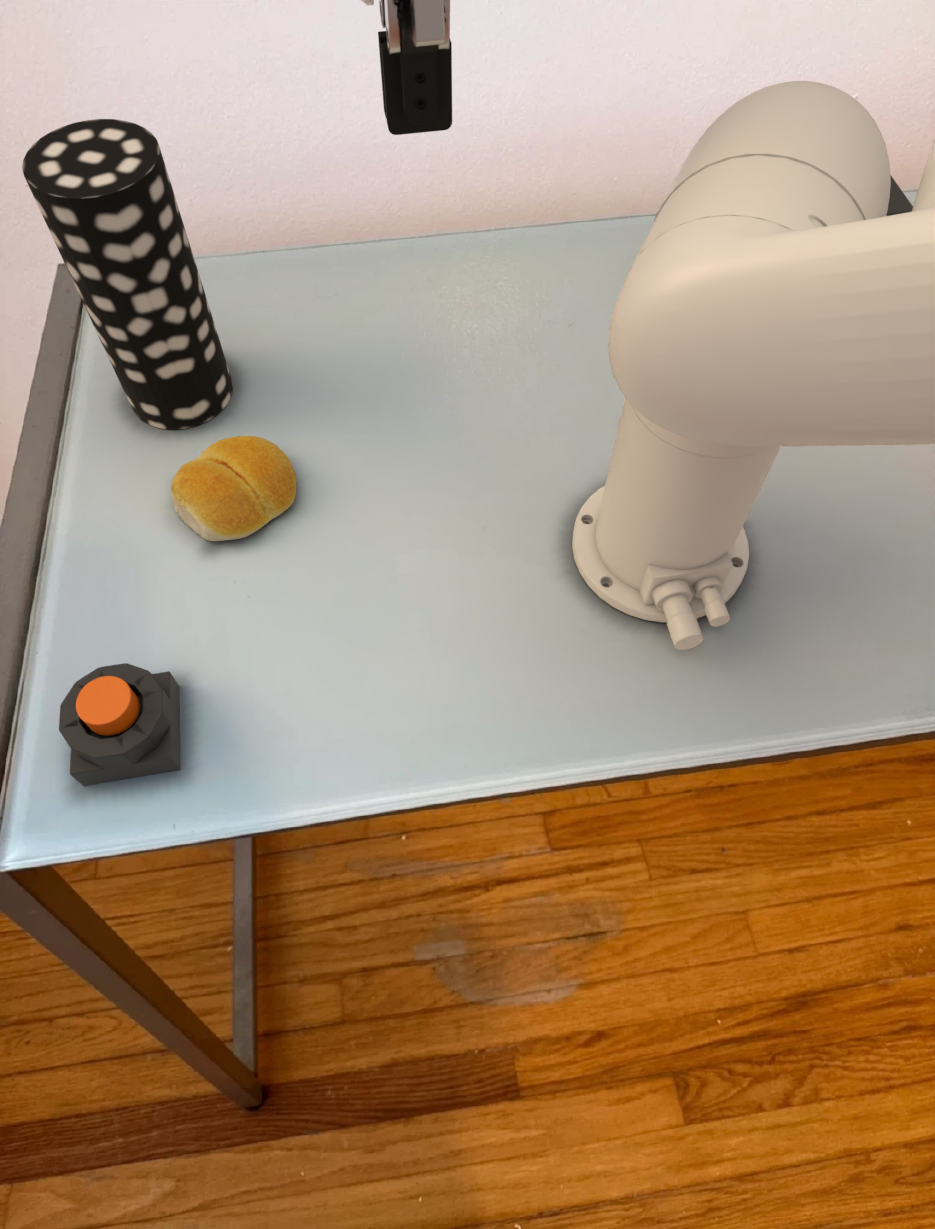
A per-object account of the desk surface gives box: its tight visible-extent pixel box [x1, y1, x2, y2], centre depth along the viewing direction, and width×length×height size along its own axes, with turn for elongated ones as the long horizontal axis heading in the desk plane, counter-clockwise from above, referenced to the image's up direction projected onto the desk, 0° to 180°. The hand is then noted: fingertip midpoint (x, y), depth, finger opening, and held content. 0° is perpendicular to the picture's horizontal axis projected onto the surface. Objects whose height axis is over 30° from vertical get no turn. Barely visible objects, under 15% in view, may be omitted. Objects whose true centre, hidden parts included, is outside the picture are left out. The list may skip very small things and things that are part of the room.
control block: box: [58, 662, 181, 787], centre depth 54 cm, size 6×6×4 cm
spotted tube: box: [21, 118, 234, 431], centre depth 62 cm, size 8×8×20 cm
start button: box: [76, 676, 140, 736], centre depth 52 cm, size 3×3×2 cm
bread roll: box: [170, 435, 297, 542], centre depth 64 cm, size 8×9×4 cm
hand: (418, 122), depth 43 cm, fingers closed
